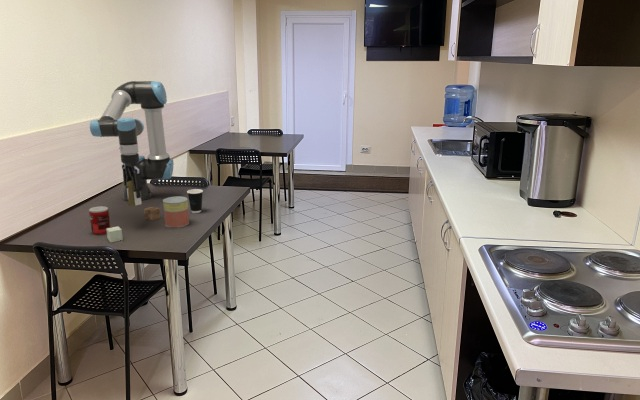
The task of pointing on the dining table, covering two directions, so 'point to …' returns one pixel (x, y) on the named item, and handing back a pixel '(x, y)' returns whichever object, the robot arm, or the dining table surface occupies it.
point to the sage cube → (114, 234)
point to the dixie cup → (195, 200)
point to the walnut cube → (152, 213)
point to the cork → (131, 194)
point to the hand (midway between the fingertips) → (134, 202)
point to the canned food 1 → (99, 219)
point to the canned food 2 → (176, 211)
